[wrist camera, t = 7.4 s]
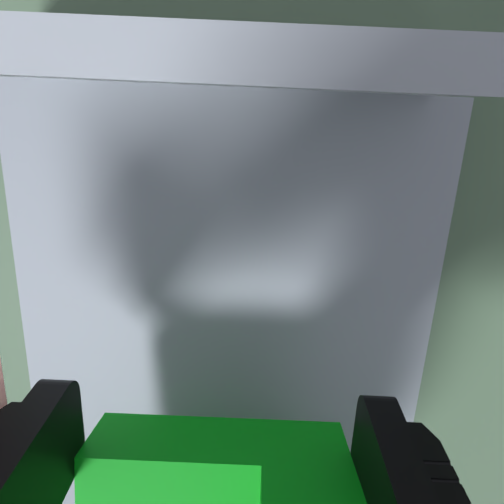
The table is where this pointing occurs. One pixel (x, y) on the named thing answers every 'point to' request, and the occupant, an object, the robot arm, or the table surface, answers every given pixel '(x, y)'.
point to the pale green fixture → (259, 211)
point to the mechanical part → (214, 462)
